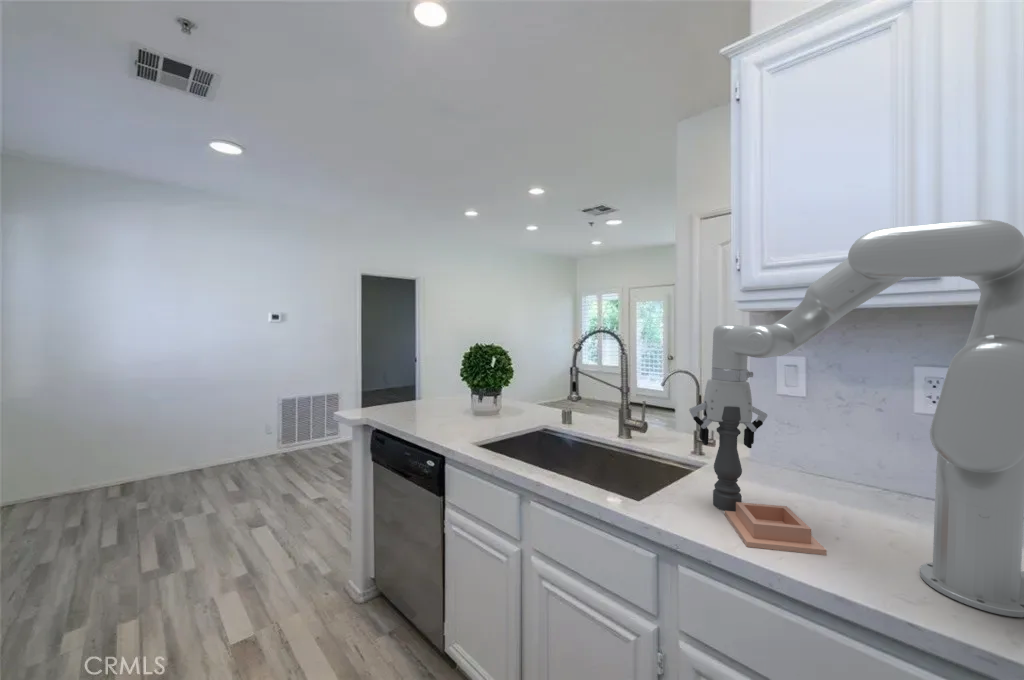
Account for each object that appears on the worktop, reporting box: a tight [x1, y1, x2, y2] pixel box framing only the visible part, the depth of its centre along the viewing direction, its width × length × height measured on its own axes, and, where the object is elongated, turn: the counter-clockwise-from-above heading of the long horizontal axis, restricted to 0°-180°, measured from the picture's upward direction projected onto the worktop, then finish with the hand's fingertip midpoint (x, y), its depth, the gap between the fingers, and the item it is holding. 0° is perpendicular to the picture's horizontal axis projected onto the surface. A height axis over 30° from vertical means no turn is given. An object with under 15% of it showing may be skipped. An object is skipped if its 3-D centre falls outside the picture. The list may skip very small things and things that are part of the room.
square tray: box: [724, 502, 828, 556], centre depth 85 cm, size 14×14×4 cm
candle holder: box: [712, 407, 743, 512], centre depth 98 cm, size 6×6×25 cm
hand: (726, 444), depth 98 cm, fingers open, 9 cm apart
